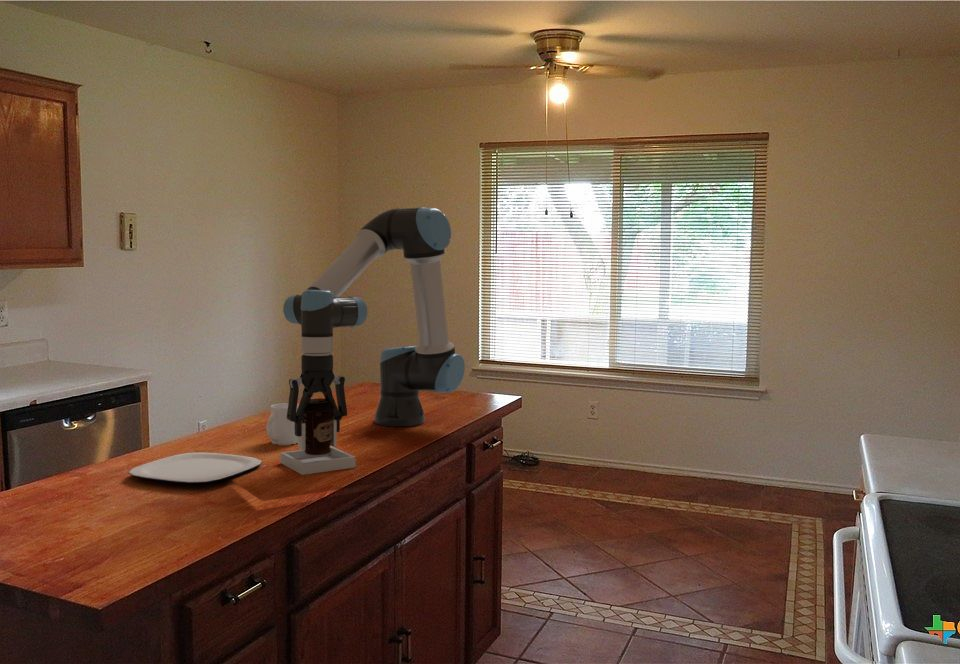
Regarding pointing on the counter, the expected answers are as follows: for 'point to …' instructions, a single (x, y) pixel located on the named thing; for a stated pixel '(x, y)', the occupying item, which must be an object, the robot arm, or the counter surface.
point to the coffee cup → (318, 426)
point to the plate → (195, 467)
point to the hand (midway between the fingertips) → (317, 447)
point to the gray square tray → (317, 461)
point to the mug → (281, 426)
